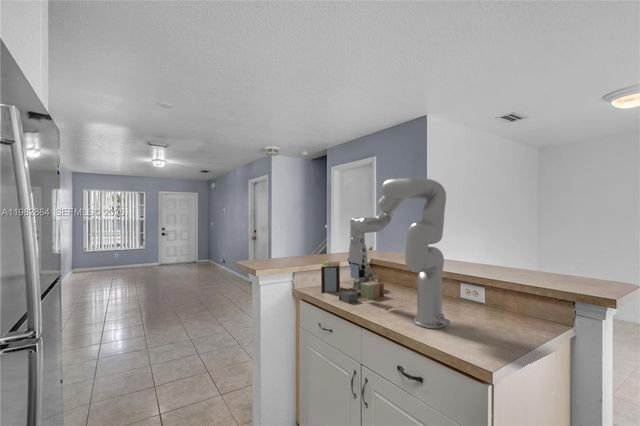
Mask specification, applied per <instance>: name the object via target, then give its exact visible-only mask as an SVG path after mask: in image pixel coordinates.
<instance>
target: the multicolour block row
mask: <svg viewBox="0 0 640 426" xmlns="http://www.w3.org/2000/svg"><path fill="white" fill-rule="evenodd" d="M373 282H376V281H373ZM376 283H380V282H376ZM356 293H358V301H357V302H352V303H346V302H344V301H341V295H339V296H338V301H341V302H343V303H345V304H348V305H353V304H357V303H362V302H366V301H367V302H368V301H370V300H371V301H372V300H374V299H375V300H376V299H381V298H384V297H385V283H383V282H382V283H380V297H376V298H371V299H367V298H364V297H361V291H358V292H356Z"/></svg>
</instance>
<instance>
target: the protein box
mask: <svg viewBox="0 0 640 426" xmlns="http://www.w3.org/2000/svg"><path fill="white" fill-rule="evenodd" d="M320 271H321V272H320V273H321V294H325V293H340V290H341V262H339V261H333V262H332V261H324V262H323V263H322V265H321V266H320Z"/></svg>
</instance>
